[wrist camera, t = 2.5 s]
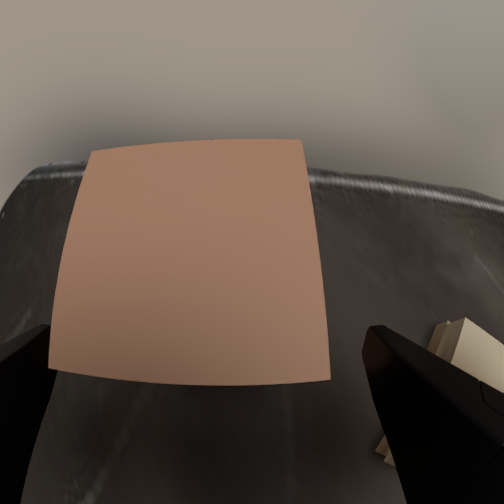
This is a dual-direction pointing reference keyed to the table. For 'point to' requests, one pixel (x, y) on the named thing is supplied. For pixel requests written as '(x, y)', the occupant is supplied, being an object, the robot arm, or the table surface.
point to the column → (193, 267)
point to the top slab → (471, 355)
